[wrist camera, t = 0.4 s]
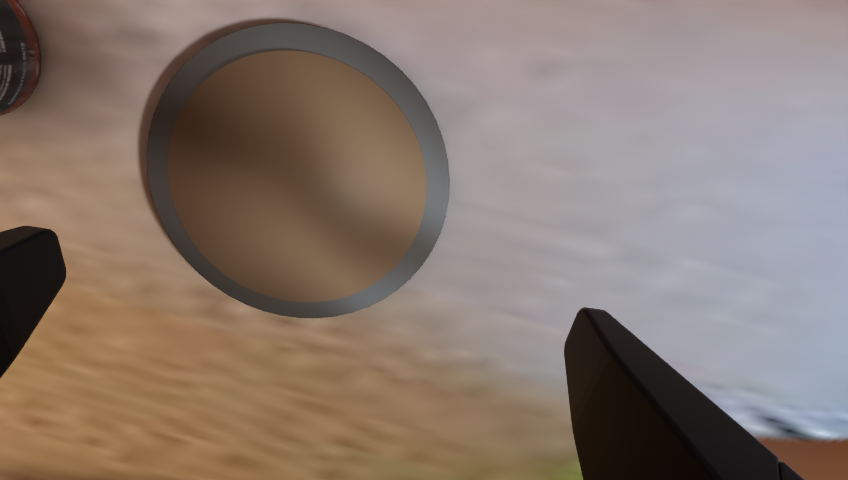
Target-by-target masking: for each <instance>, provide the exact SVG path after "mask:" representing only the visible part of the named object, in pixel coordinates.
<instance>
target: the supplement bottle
mask: <svg viewBox="0 0 848 480" xmlns="http://www.w3.org/2000/svg"><path fill="white" fill-rule="evenodd" d="M40 71H41V54H40V47H39V41H38V38H37V35H36V32H35V29H34V27H33V25H32V23H31V21H30V19H29V17H28V16H27V14H26V12H25V10H24V9H23V7H22V5H21V4H20V3H19V2H18V0H0V115H3V114H6V113H9V112H11V111H13V110H15V109H16V108H18V107H19V106H20V105H22V104H23V103H24V102H25V101H26V100H27V99H28V98H29V97H30V95H31V94H32V93H33V90H34V89H35V87H36V85H37V83H38V79H39V76H40Z"/></svg>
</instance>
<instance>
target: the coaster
mask: <svg viewBox="0 0 848 480" xmlns="http://www.w3.org/2000/svg"><path fill="white" fill-rule="evenodd" d="M147 173H148V179H149V185H150V191H151V194H152V198H153V201H154V204H155V208H156V211H157V213H158V215H159V218H160V220H161V222H162V224H163V227H164V229H165V230H166V232H167V234H168V235H169V237H170V239H171V240H172V242H173V244H174V245H175V247H176V248H177V249H178V250H179V252H180V253H181V254H182V256H183V257H184V258H185V260H186V261H187V262H188V263H189V264H190V265H191V266H192V267H193V268H194V269H195V270H196V271H197V272H198V273H199V274H200V275H201V276H203V277H204V278H205V279H206V280H207V281H209V282H210V283H211V284H212V285H213V286H215V287H216V288H218V289H219V290H221V291H223V292H224V293H226V294H227V295H229V296H230V297H232V298H234V299H236V300H238V301H240V302H242V303H244V304H246V305H249V306H252V307H254V308H257V309H260V310H262V311H266V312H270V313H274V314H278V315H282V316H289V317H297V318H323V317H334V316H339V315H343V314H348V313H352V312H355V311H358V310H361V309H363V308H366V307H369V306H371V305H373V304H375V303H377V302H379V301H381V300H383V299H385V298H386V297H388V296H389V295H391V294H392V293H394V292H395V291H397V290H398V289H399V288H400V287H401V286H403V285H404V284H405V283H406V282H407V281H408V280H409V279H411V277H412V276H413V275H414V274H415V273H416V272H417V271H418V269H419V268H420V267H421V266H422V265H423V263H424V262H425V260H426V259H427V257H428V256H429V254H430V253H431V251H432V249H433V247H434V245H435V243H436V241H437V239H438V237H439V235H440V232H441V229H442V226H443V223H444V220H445V217H446V211H447V206H448V200H449V183H450V179H449V167H448V159H447V154H446V150H445V145H444V141H443V138H442V135H441V132H440V130H439V127H438V124H437V121H436V119H435V117H434V115H433V114H432V112H431V110H430V108H429V106H428V104H427V102H426V101H425V99H424V98H423V96H422V95H421V93H420V92H419V91H418V89H417V88H416V86H415V85H414V84H413V83H412V82H411V81H410V80H409V78H408V77H407V76H406V75H405V74H404V73H403V72H402V71H401V70H400V69H399V68H398V67H397V66H396V65H394V64H393V63H392V62H391V61H390V60H389V59H387V58H386V57H385V56H384V55H382V54H381V53H379V52H378V51H376V50H374V49H373V48H371V47H370V46H368V45H367V44H365V43H363V42H361V41H358V40H356V39H354V38H352V37H350V36H348V35H345V34H342V33H339V32H336V31H333V30H330V29H326V28H323V27H317V26H312V25H306V24H295V23H275V24H266V25H257V26H254V27H250V28H246V29H242V30H239V31H236V32H233V33H231V34H229V35H226V36H224V37H222V38H220V39H217V40H216V41H214V42H213V43H211V44H209V45H208V46H206V47H205V48H203V49H201V50H200V51H199V52H198V53H197V54H195V55H194V56H193V57H192V58H191V59H190V60H188V61H187V62H186V63H185V64H184V65H183V66H182V68H181V69H180V70H179V71H178V72H177V74H176V75H175V76H174V77H173V78H172V80H171V81H170V83H169V84H168V86H167V88H166V89H165V91H164V93H163V94H162V96H161V98H160V101H159V103H158V105H157V108H156V110H155V113H154V115H153V119H152V123H151V127H150V131H149V137H148V147H147Z"/></svg>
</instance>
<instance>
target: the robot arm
mask: <svg viewBox="0 0 848 480" xmlns="http://www.w3.org/2000/svg"><path fill="white" fill-rule="evenodd" d="M65 278H66V267H65V263H64V260H63V256H62V252H61V248H60V244H59V241H58V237H57V235H56V234H55V232H53V231H52V230H50V229H46V228H39V227H32V226H21V227H17V228H14V229H10V230H6V231H3V232H0V378H1V377H2V375H3V374H4V373H5V372H6V370H7V369H8V368H9V366H10V365H11V364H12V362H13V361H14V360H15V358H16V357H17V355H18V354H19V352H20V351H21V349H22V348H23V347H24V345H25V343H26V342H27V340H28V339H29V337H30V336H31V334H32V332H33V331H34V329H35V328H36V326H37V325H38V323H39V322H40V320H41V318H42V317H43V315H44V314H45V312H46V311H47V309H48V307H49V306H50V304H51V303H52V301H53V300H54V298H55V296H56V295H57V293H58V292H59V290H60V289H61V287H62V285H63V283H64V281H65ZM564 357H565V366H566V375H567V385H568V394H569V403H570V412H571V421H572V428H573V434H574V440H575V445H576V449H577V453H578V458H579V462H580V467H581V471H582V476H583V480H804V479H803V478H802V477H800V476H799V475H798V474H797V473H796V472H795V471H793V470H792V469H791V468H790V467H789V466H788V465H786V464H785V463H784V462H781V461H780V462H779V460H778V457H777V456H776V455H774V454H773V453H772V452H771V451H770V450H769V449H767V448H766V447H765V446H764V445H763V444H762V443H760V442H759V441H758V440H757V439H756V438H755V437H753V436H752V435H751V434H750V433H749V432H747V431H746V430H745V429H744V428H743V427H742V426H740V425H739V424H738V423H737V422H736V421H735V420H733V419H732V418H731V417H730V416H729V415H728V414H726V413H725V412H724V411H723V410H722V409H720V408H719V407H718V406H717V405H716V404H715V403H713V402H712V401H711V400H710V399H709V398H708V397H706V396H705V395H704V394H703V393H702V392H700V391H699V390H698V389H697V388H696V387H695V386H693V385H692V384H691V383H690V382H689V381H688V380H686V379H685V378H684V377H683V376H682V375H680V374H679V373H678V372H677V371H676V370H675V369H673V368H672V367H671V366H670V365H669V364H668V363H666V362H665V361H664V360H663V359H662V358H660V357H659V356H658V355H657V354H656V353H655V352H653V351H652V350H651V349H650V348H649V347H648V346H646V345H645V344H644V343H643V342H642V341H640V340H639V339H638V338H637V337H636V336H635V335H633V334H632V333H631V332H630V331H629V330H628V329H626V328H625V327H624V326H623V325H622V324H620V323H619V322H618V321H617V320H616V319H615V318H613V317H612V316H611V315H610V314H609V313H608V312H606V311H604V310H600V309H593V308H586V307H584V308H582V309H580V310H579V312H578V313H577V315H576V318H575V320H574V322H573V325H572V327H571V330H570V332H569V334H568V337H567V339H566V342H565V347H564Z"/></svg>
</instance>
